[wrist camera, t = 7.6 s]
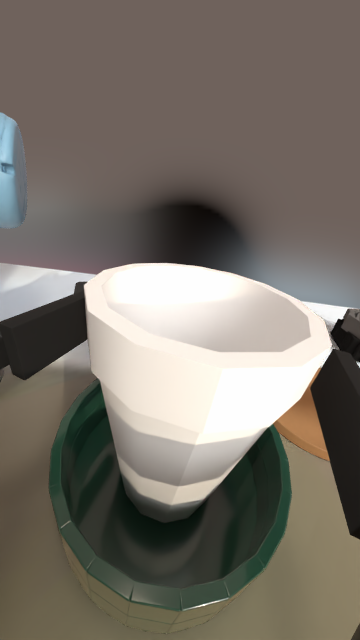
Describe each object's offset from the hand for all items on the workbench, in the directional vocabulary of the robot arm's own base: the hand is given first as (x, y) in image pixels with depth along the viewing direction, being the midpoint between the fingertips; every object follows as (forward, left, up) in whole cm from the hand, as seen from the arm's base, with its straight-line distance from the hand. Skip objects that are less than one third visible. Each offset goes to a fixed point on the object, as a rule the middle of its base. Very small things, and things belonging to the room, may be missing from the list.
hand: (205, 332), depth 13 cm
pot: (+2, -1, -10) cm, 10 cm away
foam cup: (+2, -1, -10) cm, 10 cm away
